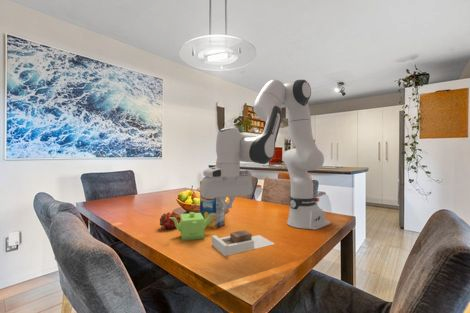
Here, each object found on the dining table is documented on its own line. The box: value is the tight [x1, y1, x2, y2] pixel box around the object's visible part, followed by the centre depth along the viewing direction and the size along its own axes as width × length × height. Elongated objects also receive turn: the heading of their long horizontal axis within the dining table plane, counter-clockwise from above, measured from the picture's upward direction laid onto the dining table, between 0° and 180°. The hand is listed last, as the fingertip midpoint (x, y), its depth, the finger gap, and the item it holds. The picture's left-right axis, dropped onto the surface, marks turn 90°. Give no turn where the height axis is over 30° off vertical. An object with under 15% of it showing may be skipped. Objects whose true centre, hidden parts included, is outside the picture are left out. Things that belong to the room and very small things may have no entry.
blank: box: [225, 229, 252, 245], centre depth 89 cm, size 11×5×4 cm, turn 119°
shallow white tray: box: [211, 234, 275, 257], centre depth 91 cm, size 22×11×5 cm, turn 119°
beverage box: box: [199, 180, 226, 229], centre depth 120 cm, size 7×11×22 cm, turn 53°
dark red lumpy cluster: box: [159, 211, 181, 230], centre depth 115 cm, size 8×8×12 cm
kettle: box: [169, 211, 211, 242], centre depth 101 cm, size 15×14×11 cm
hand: (227, 208), depth 87 cm, fingers closed
